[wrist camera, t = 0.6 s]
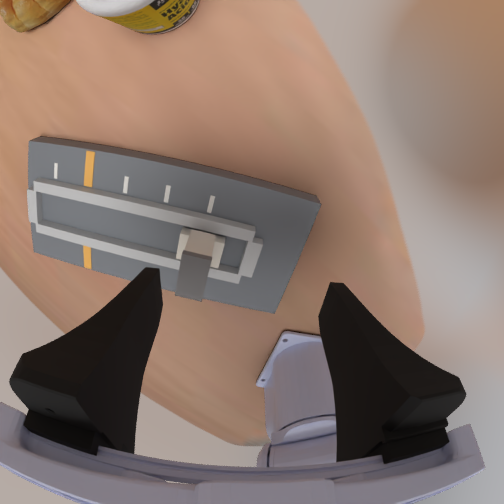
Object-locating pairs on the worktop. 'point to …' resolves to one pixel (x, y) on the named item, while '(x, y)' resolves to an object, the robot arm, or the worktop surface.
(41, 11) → the pastry
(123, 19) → the supplement bottle
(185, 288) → the fader tab
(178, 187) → the console
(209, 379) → the worktop surface
